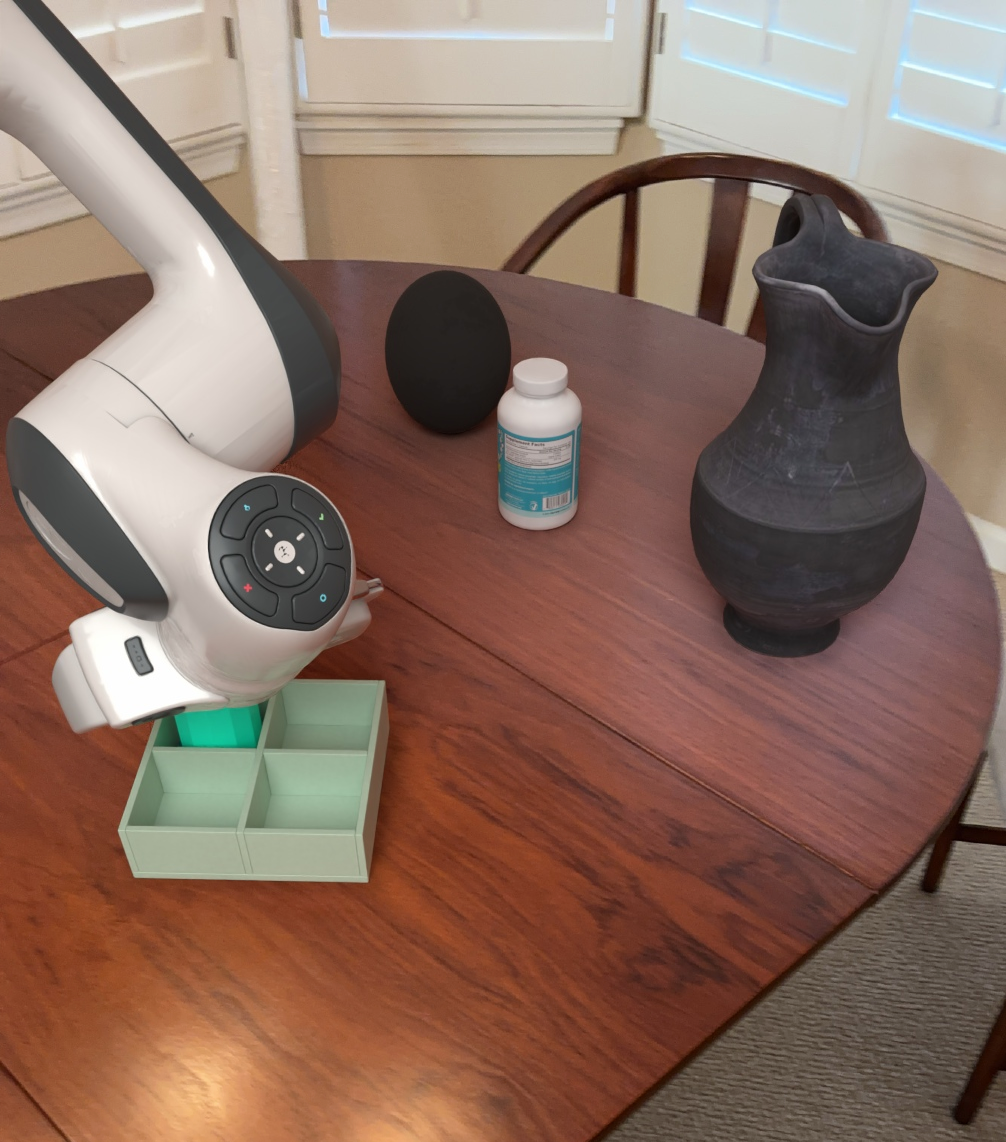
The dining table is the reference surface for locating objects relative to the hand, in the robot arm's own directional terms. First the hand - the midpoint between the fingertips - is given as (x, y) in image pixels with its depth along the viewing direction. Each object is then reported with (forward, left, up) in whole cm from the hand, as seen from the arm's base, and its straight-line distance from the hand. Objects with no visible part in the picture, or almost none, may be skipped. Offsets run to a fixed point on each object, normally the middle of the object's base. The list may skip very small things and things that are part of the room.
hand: (203, 673), depth 82 cm
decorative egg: (+14, +51, -8) cm, 53 cm away
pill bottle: (+23, +35, -8) cm, 42 cm away
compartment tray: (+4, -4, -8) cm, 10 cm away
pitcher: (+43, +20, -8) cm, 48 cm away
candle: (0, -1, -7) cm, 7 cm away
